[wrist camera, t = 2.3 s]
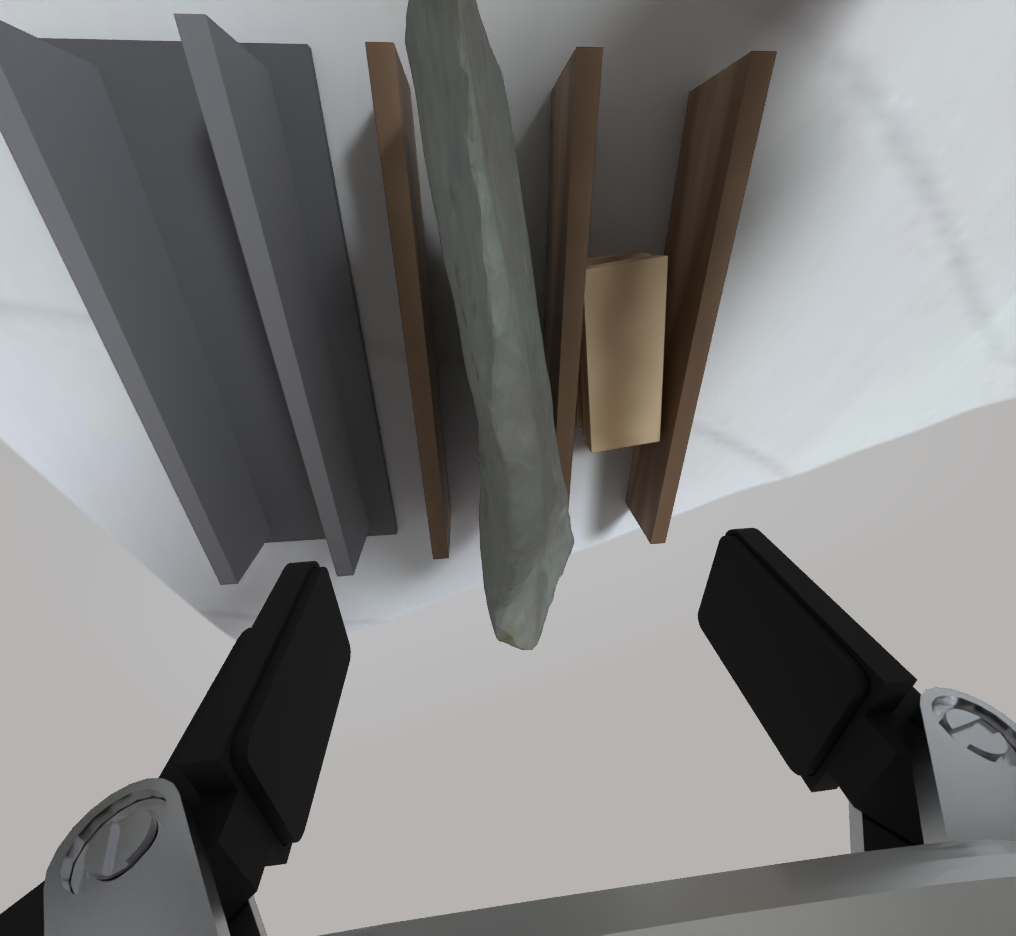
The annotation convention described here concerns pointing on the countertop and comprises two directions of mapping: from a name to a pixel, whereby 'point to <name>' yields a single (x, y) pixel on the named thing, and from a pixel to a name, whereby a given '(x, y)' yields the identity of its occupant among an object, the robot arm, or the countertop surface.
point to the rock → (492, 311)
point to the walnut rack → (585, 261)
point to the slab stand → (211, 273)
